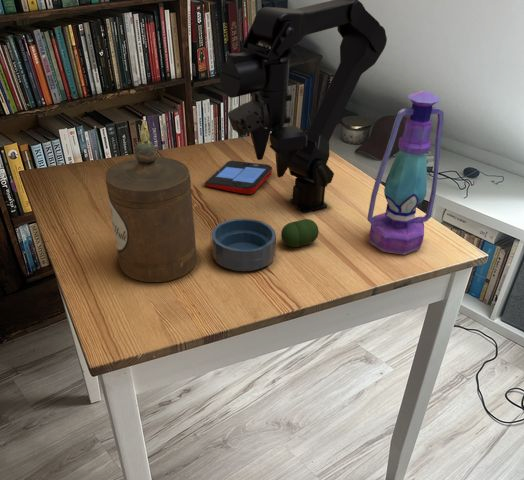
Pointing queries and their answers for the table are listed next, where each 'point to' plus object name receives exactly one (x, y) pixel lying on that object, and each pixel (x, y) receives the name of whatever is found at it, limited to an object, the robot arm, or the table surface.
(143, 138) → the vegetable
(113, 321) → the table surface
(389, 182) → the lantern
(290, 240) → the green rounded cylinder
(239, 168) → the game console
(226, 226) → the bowl
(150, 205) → the wooden container
